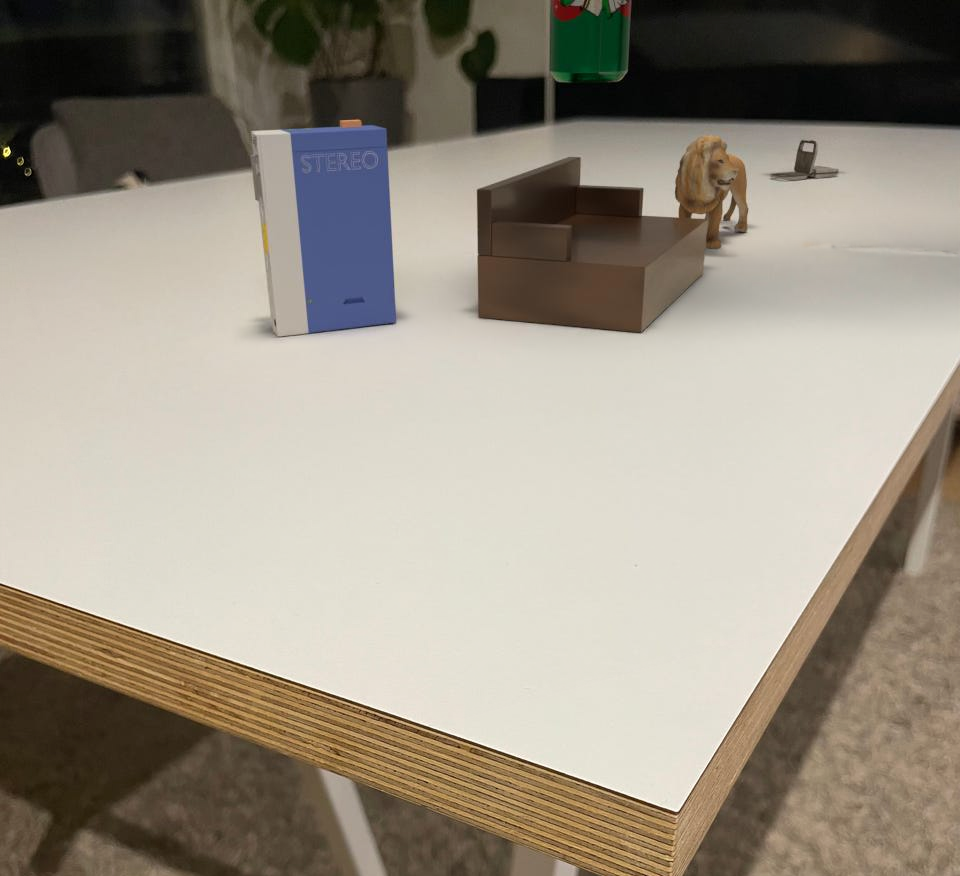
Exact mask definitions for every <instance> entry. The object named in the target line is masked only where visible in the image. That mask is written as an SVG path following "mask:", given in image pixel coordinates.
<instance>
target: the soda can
mask: <svg viewBox="0 0 960 876" xmlns="http://www.w3.org/2000/svg"><path fill="white" fill-rule="evenodd" d="M549 13H550V14H549V15H550V16H549V17H550V20H549V21H550V22H549V73H550V75H551V76H552V78H553V79H554V81H556V82H557V83H558V82H559V83H569V84H570V83H571V84H573V83H575V84H583V83H584V84H593V83H594V84H595V83H599V84H600V83H615V82H620V81H621V80H623V78H624V77H625V76H626V74H627V73H628V71H629V59H630V39H631V18H632V17H631V16H632V15H631V14H632V0H550V12H549Z"/></svg>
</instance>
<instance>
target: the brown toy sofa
mask: <svg viewBox="0 0 960 876" xmlns="http://www.w3.org/2000/svg"><path fill="white" fill-rule="evenodd" d="M581 162H582V159H581V157H580V156H567V157H565V158H562V159H558V160H557V161H553V162H550V163H548V164H545V165H541V166H539V167H536V168H533V169H531V170H528V171H525V172H523V173H519V174H517V175H514V176H511V177H508V178H505V179H503V180H500V181H496V182H494V183H490V184H488V185H485V186H483V187H480V188H477V189H476V219H477V220H476V222H477V223H476V227H477V230H476V231H477V314H478V315H477V316H478V318H481V319H492V320H493V319H494V320H504V321H513V322H526V323H534V324H543V325H544V324H545V325H546V324H547V325H557V326H565V327H567V326H568V327H576V328H588V329H599V330H609V331H620V332H629V333H639V334H640V333H643V331H644V330H646V328H648V327H649V326H650V325H651V323H653V322H654V321H655V320H656V319H657V318H658V317H659V316H660V315H661V314H662V313H664V311H666V309H667V308H668V307H670V306H671V304H673V303H674V302H675V301H676V300H677V299H678V298H679V297H680V296H681V295H682V294H683V293H684V292H685V291H686V290H688V288H690V287H691V286H692V284H694V283H695V282H696V281H697V280H698V279H699V278H701V276H702V275H703V274H704V266H705V257H706V234H707V222H708V219H705V218H697V217H695V218H694V217H691V218H679V217H677V216H676V217H675V216H659V215H658V216H657V215H643V208H644V207H643V206H644V204H643V203H644V190H645V189H644V187H632V186H612V185H610V186H609V185H589V184H588V185H587V184H581V168H582V167H581V166H582V163H581Z"/></svg>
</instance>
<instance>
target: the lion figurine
mask: <svg viewBox="0 0 960 876" xmlns="http://www.w3.org/2000/svg"><path fill="white" fill-rule="evenodd" d="M727 149H728V144H727V141H726V140H723V138H722V137H720V136H718V135H711V134H707V135H703V136H699V137H698V138H697V139H695V140H694V141H692V142H690V144H689V145H688V146H687V147H686V149H685V153H684V154H683V155H682V156H681V157H680V160H679V167H678V169H677V175H676V177H675V180H674V184H675V188H674V196H675V197H674V198H675V200H676V201H677V202H678V203H679V206H678V218H692V216H693V214H694V215H695V214H696V215H704V219H708V222H707V233H706V245H705V247H706V248H708V249H720V248H722V242H721V241H720V225H721V221H723V222H731V218H732V216H733V214H734V211H736V206H737V208H738V219H737V223H736V224H735V226H734V231H736V232H740V233H744V232H747V231H748V214H749V206H748V203H747V188H748V187H747V186H748V179H747V170H746V165H745V163H744V161H743V160H742V159H741V158H739V157H737V156H736V155H733V154H730V153H727ZM729 192H730V193H731V199H730V204H729V207H728V209H727V211H726V212H725V214H724V215H723V212H724V210H723V204H724V203H723V202H724V200H726V198H727V196H728V194H729Z"/></svg>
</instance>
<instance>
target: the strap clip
mask: <svg viewBox="0 0 960 876" xmlns="http://www.w3.org/2000/svg"><path fill="white" fill-rule="evenodd" d="M805 144H812V145H813V148H812V151H807V150H804V145H805ZM818 147H819V143H818V142H817V141H816V140H813V139H807V138H806V139H805V138H803V139H801V140H800V141H799V145H798V148H797V150H796V157H795V161H794V167H793V171H789V172H775V173H770V176H769V177H770V178H774V179H779V180H786V181H797V180H798V181H800V180H801V181H802V180H807V178H813V179H821V178H823V179H824V178H833V177H836V176H838V175H839V168H835V167H829V166H822V165H815V163H816V160H817V156H818V151H819V150H818V149H819V148H818Z"/></svg>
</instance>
